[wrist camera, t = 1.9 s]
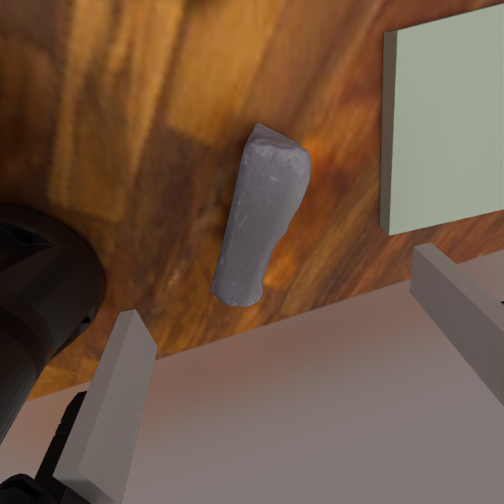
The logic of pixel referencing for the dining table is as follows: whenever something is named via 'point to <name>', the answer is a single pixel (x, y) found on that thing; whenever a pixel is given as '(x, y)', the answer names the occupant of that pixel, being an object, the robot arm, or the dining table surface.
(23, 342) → the robot arm
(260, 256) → the stone block
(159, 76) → the dining table surface
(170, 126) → the dining table surface
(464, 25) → the base
